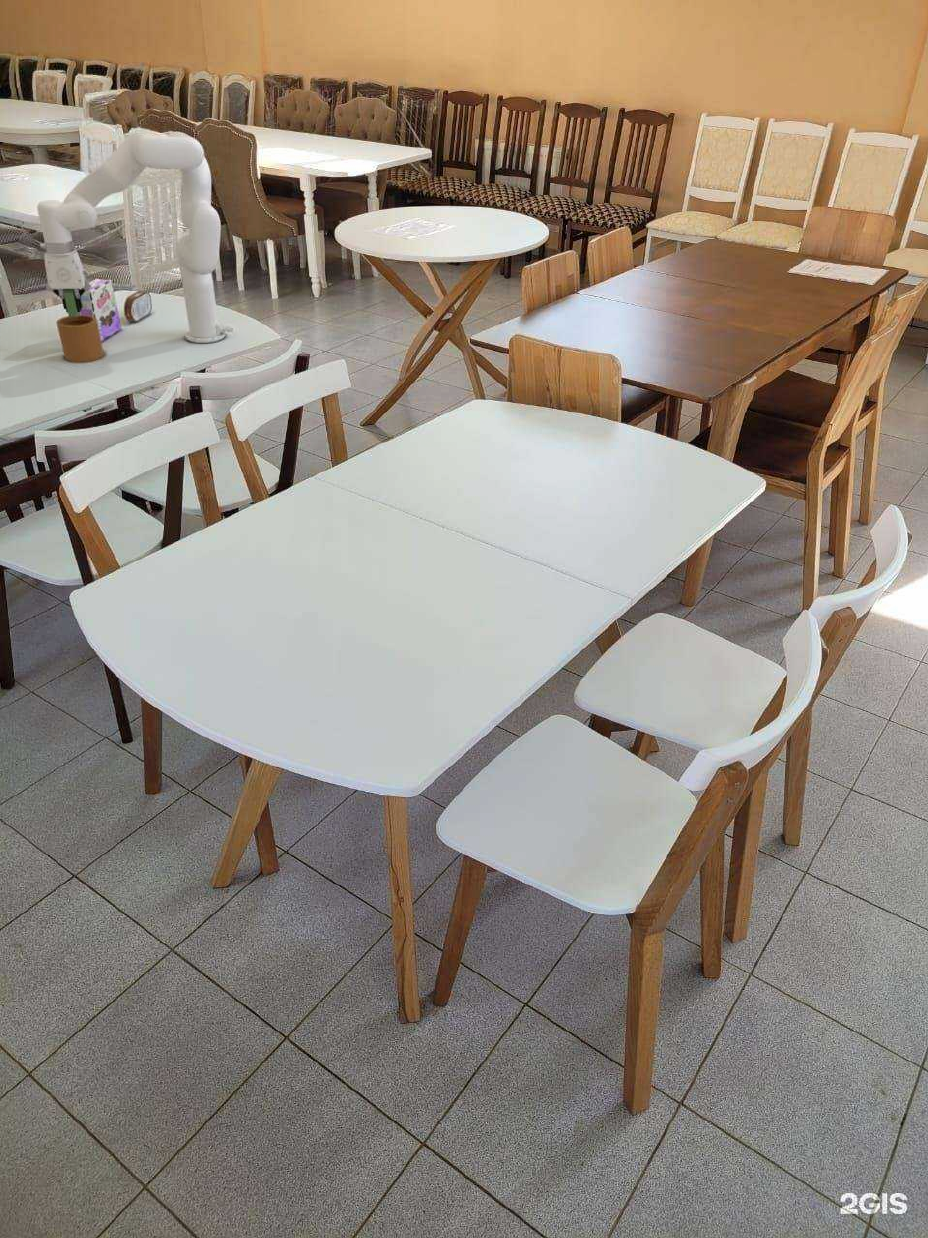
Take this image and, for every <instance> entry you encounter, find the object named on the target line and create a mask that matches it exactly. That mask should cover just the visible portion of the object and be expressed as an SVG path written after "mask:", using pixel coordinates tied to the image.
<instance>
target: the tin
mask: <svg viewBox="0 0 928 1238" xmlns="http://www.w3.org/2000/svg"><path fill="white" fill-rule="evenodd" d="M152 304H153V303H152V296H151V294H150V292H148V291H144V290H138V291H135V292H134V293H132V294H130V295H128V296H127V297H126V299H125V301H124V305H123V313H124V317H125V319H126V320H127V321H128V322H134V323H138V322H139V321H141V320H143V319H144V318H146V317H148V316H149V315H151V312H152V307H153V305H152Z"/></svg>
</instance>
